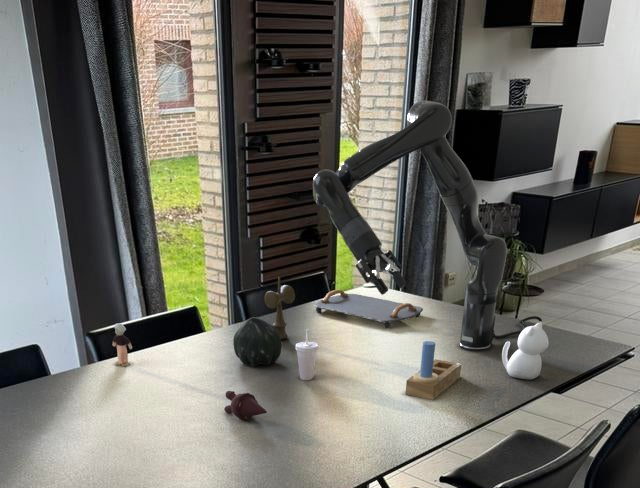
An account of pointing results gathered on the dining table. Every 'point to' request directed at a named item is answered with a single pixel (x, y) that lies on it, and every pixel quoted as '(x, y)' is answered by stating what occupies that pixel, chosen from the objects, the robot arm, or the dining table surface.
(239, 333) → the squash
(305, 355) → the smoothie
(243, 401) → the red gnome figurine
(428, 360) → the peg
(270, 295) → the kendama
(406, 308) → the serving tray
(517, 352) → the cat figurine
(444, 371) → the rack
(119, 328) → the grandmother figurine
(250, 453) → the dining table surface
